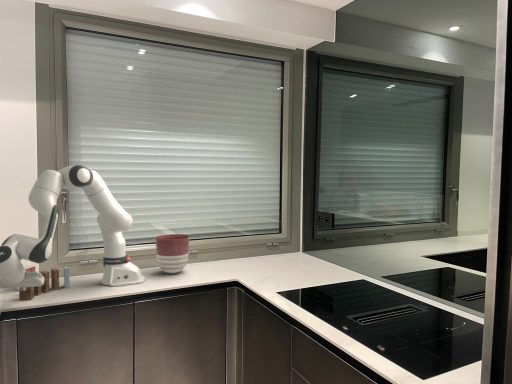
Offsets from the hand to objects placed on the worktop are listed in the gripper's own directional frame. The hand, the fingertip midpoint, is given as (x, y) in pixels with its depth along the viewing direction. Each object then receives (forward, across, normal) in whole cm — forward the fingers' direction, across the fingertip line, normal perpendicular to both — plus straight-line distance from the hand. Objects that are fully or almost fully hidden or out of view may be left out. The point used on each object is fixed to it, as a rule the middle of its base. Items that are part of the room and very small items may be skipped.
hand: (22, 289), depth 168 cm
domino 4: (+18, -8, -10) cm, 22 cm away
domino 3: (+16, -4, -7) cm, 18 cm away
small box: (+23, +7, -13) cm, 27 cm away
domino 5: (+20, -13, -11) cm, 27 cm away
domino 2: (+13, -2, -4) cm, 13 cm away
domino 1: (+8, 0, +1) cm, 8 cm away
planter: (+31, -68, -22) cm, 78 cm away
